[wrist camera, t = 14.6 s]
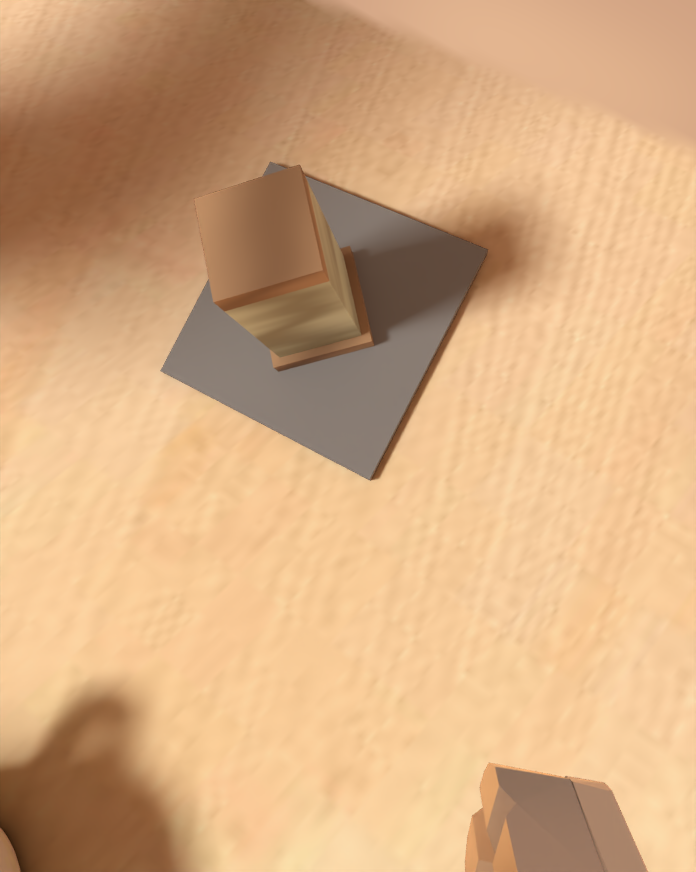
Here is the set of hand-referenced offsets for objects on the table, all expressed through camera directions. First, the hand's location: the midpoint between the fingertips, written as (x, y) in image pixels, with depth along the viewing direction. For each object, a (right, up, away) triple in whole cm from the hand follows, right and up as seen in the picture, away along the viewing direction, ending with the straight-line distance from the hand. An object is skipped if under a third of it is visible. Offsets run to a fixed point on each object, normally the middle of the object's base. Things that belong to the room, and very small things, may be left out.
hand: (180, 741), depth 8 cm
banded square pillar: (+1, +10, +21) cm, 24 cm away
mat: (+1, +10, +22) cm, 24 cm away
